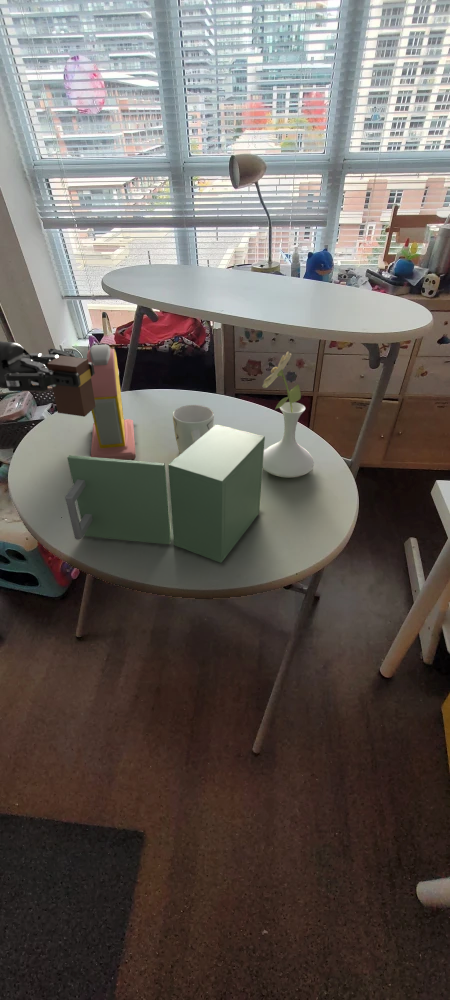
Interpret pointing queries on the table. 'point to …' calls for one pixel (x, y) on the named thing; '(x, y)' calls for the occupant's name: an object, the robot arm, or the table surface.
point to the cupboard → (216, 490)
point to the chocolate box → (74, 397)
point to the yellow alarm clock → (109, 408)
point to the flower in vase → (287, 433)
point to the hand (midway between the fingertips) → (85, 374)
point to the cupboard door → (119, 499)
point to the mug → (191, 424)
